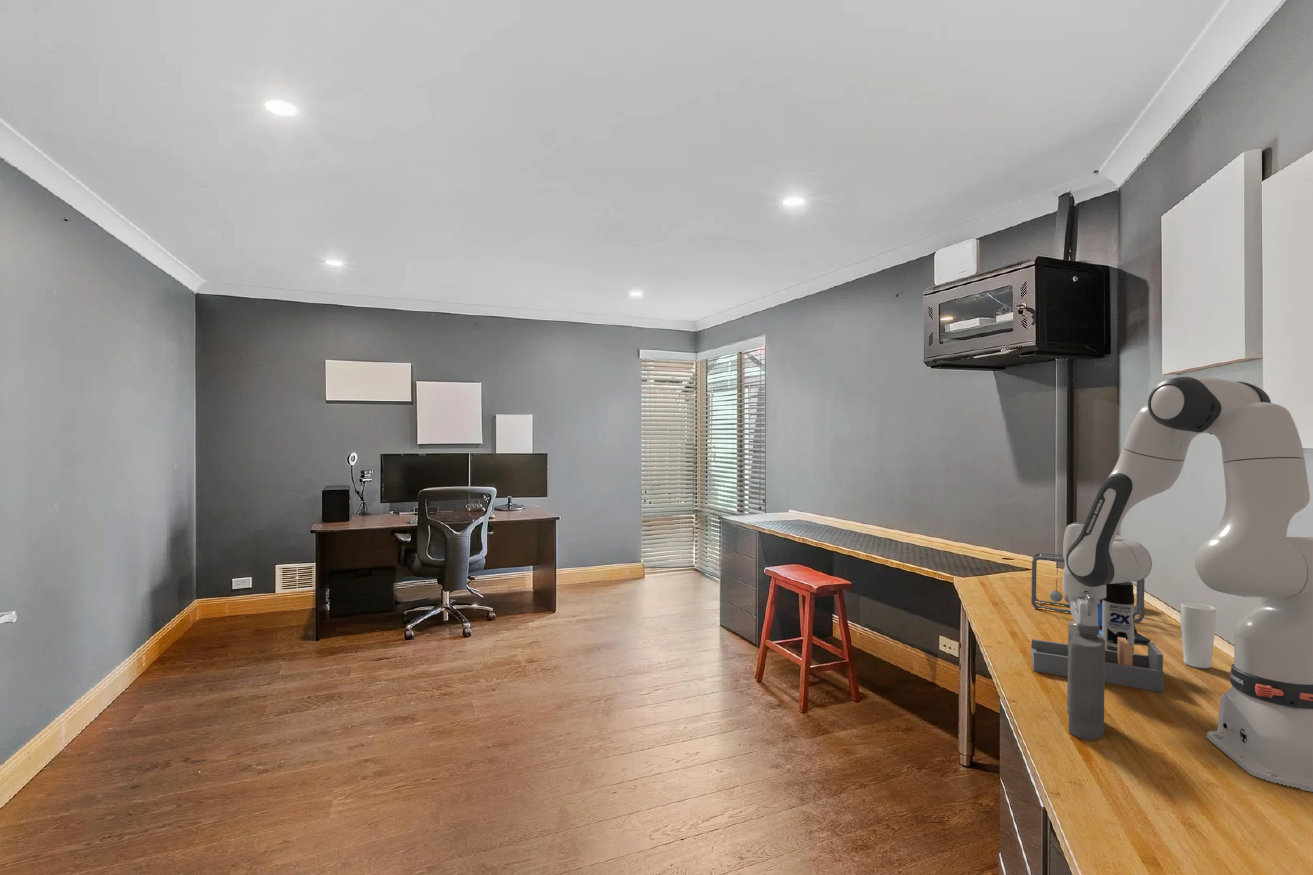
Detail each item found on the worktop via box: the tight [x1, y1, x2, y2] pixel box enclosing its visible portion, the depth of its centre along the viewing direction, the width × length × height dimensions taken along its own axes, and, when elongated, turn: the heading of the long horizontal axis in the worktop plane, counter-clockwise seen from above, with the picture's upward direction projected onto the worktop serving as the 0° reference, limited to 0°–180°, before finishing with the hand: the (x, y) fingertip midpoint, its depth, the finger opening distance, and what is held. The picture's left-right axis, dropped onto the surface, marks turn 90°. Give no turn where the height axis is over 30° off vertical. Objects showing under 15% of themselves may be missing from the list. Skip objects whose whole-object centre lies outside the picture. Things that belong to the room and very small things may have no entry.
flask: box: [1066, 622, 1106, 741], centre depth 124 cm, size 15×6×20 cm, turn 148°
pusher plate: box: [1117, 637, 1133, 666], centre depth 149 cm, size 9×2×7 cm, turn 151°
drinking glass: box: [1179, 602, 1217, 669], centre depth 158 cm, size 7×7×15 cm
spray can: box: [1102, 582, 1135, 654], centre depth 162 cm, size 7×7×20 cm
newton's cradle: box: [1030, 551, 1146, 624], centre depth 207 cm, size 30×10×18 cm, turn 57°
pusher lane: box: [1030, 638, 1165, 693], centre depth 152 cm, size 12×25×8 cm, turn 61°
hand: (1083, 644), depth 153 cm, fingers closed on jar, 6 cm apart
